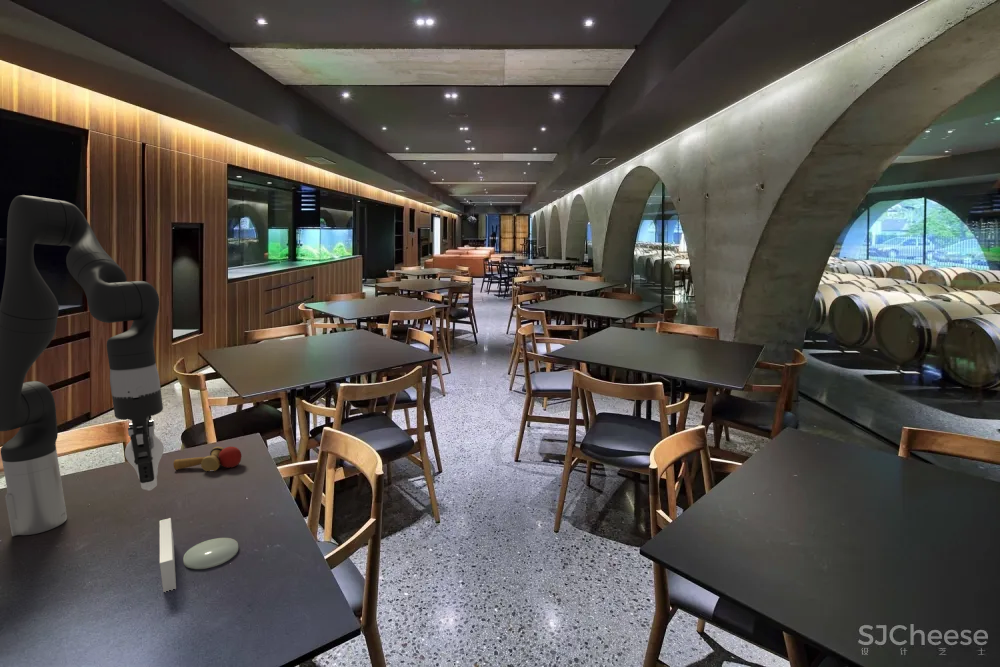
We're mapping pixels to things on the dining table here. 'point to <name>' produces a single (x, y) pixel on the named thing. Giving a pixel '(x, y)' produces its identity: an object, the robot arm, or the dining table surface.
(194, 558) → the pad
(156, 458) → the lightbulb
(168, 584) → the wall
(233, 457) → the kendama
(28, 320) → the robot arm
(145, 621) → the dining table surface
